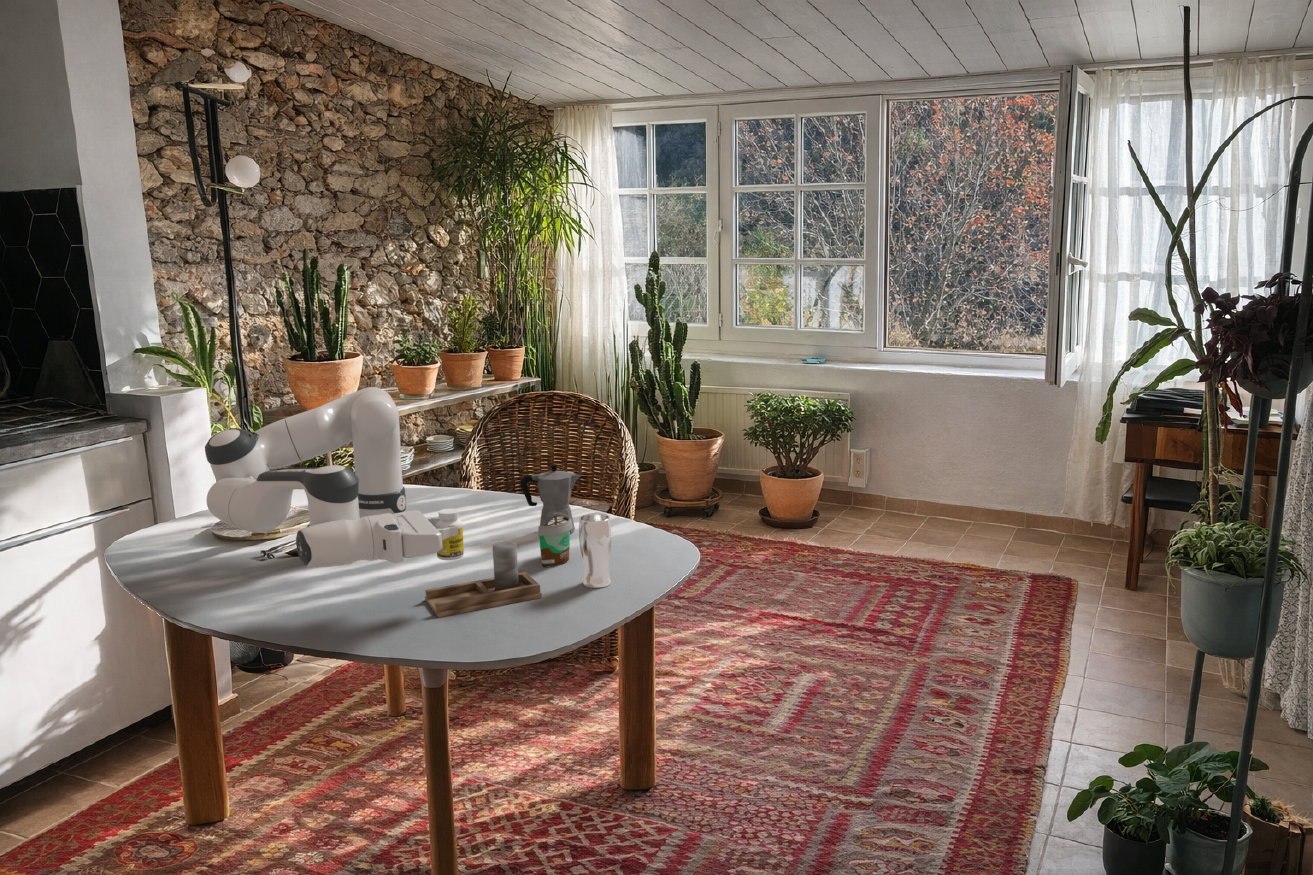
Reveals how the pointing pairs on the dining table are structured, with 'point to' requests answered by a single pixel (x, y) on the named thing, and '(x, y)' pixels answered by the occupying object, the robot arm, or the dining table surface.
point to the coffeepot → (552, 492)
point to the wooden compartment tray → (487, 587)
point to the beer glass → (595, 549)
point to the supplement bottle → (453, 544)
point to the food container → (555, 540)
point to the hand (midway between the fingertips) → (453, 525)
